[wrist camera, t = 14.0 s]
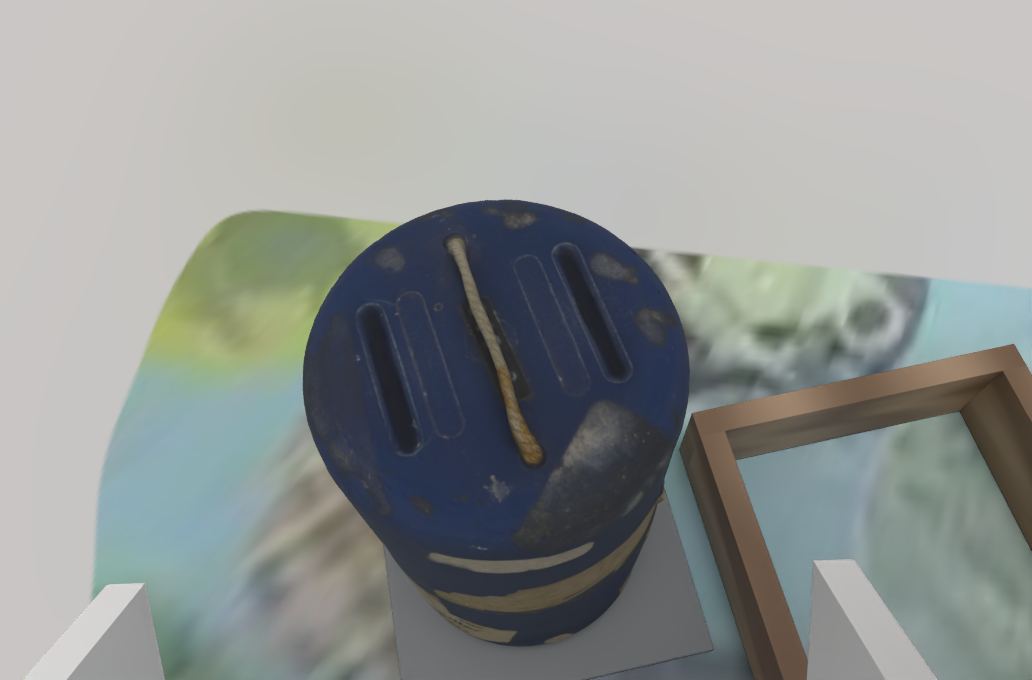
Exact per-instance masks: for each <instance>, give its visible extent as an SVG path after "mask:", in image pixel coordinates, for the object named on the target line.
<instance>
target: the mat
mask: <svg viewBox="0 0 1032 680" xmlns="http://www.w3.org/2000/svg"><path fill="white" fill-rule="evenodd" d="M664 494H665V500H664V501H663V502H660V503H658V504H657V508H656V512H655V515H654V518H653V522H652V524H651V527H650V532H649V534H648V537H647V538H646V540H645V542H644V544H643V546H642V549H641V551H640V553H639V556H638V558H637V560H636V562H635V564H634V566H633V569H632V572H631V575H630V577H629V580H628V582H627V584H626V586H625V588H624V589H623V591H622V592H621V594H620V595H619V596H618V598H617V599H616V600H615V601H614V603H613V604H612V605H611V606H610V607H609V608H608V609H607V610H606V611H605V612H604V613H603V614H602V615H601V616H600V617H599V618H598V619H597V620H596V621H594V622H593V623H591V624H590V625H589V626H587V627H586V628H584V629H582V630H581V631H579V632H577V633H575V634H574V635H572V636H570V637H567V638H565V639H562V640H559V641H556V642H552V643H548V644H542V645H536V646H521V647H517V646H506V645H499V644H495V643H490V642H487V641H484V640H481V639H478V638H476V637H473V636H471V635H469V634H467V633H465V632H463V631H461V630H459V629H458V628H456V627H455V626H453V625H452V624H450V623H449V622H447V621H446V620H445V619H444V618H443V617H442V616H440V615H439V614H438V613H437V612H436V611H435V610H434V609H433V608H432V607H431V606H430V604H429V603H428V602H427V601H426V599H425V598H424V597H423V596H422V594H421V593H420V592H419V591H418V590H417V588H416V587H415V586H414V585H413V584H412V582H411V581H410V580H409V578H408V577H407V576H406V574H405V573H404V572H403V571H402V570H401V568H400V567H399V566H398V564H397V563H396V561H395V560H394V558H393V557H392V555H391V554H390V552H389V551H388V549H387V548H386V546H385V545H384V544H383V545H384V552H385V560H386V568H387V575H388V583H389V591H390V598H391V606H392V614H393V621H394V629H395V637H396V644H397V652H398V660H399V667H400V675H401V680H588V679H593V678H597V677H601V676H606V675H610V674H614V673H618V672H623V671H627V670H631V669H636V668H640V667H644V666H649V665H653V664H657V663H662V662H666V661H670V660H674V659H679V658H683V657H687V656H692V655H696V654H700V653H705V652H709V651H712V650H713V649H714V647H713V644H712V641H711V638H710V634H709V631H708V628H707V625H706V621H705V618H704V615H703V612H702V609H701V605H700V602H699V599H698V596H697V592H696V589H695V586H694V583H693V579H692V576H691V573H690V570H689V566H688V563H687V560H686V557H685V554H684V550H683V547H682V544H681V541H680V537H679V534H678V531H677V528H676V524H675V521H674V518H673V515H672V512H671V508H670V505H669V502H668V499H667V495H666V492H665V489H664Z"/></svg>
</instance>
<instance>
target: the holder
mask: <svg viewBox="0 0 1032 680" xmlns="http://www.w3.org/2000/svg"><path fill="white" fill-rule="evenodd" d="M956 411H960V412H961V414H962V416H963V418H964V420H965V422H966V424H967V426H968V428H969V430H970V432H971V434H972V436H973V437H974V439H975V441H976V443H977V445H978V447H979V449H980V451H981V453H982V455H983V457H984V459H985V461H986V463H987V465H988V466H989V468H990V470H991V472H992V474H993V476H994V478H995V480H996V482H997V484H998V486H999V488H1000V490H1001V492H1002V493H1003V495H1004V497H1005V499H1006V501H1007V503H1008V505H1009V507H1010V509H1011V511H1012V513H1013V515H1014V517H1015V519H1016V521H1017V522H1018V524H1019V526H1020V528H1021V530H1022V532H1023V534H1024V536H1025V538H1026V540H1027V542H1028V544H1029V546H1030V548H1031V550H1032V374H1031V372H1030V371H1029V369H1028V367H1027V365H1026V364H1025V362H1024V360H1023V359H1022V357H1021V355H1020V353H1019V352H1018V350H1017V348H1016V346H1015V345H1014V344H1011V345H1007V346H1002V347H998V348H993V349H988V350H984V351H979V352H974V353H970V354H965V355H960V356H956V357H951V358H946V359H942V360H937V361H932V362H928V363H923V364H918V365H914V366H909V367H905V368H900V369H895V370H891V371H886V372H881V373H877V374H872V375H867V376H863V377H858V378H853V379H849V380H844V381H839V382H835V383H830V384H826V385H821V386H816V387H812V388H807V389H802V390H798V391H793V392H788V393H784V394H779V395H774V396H770V397H765V398H760V399H756V400H751V401H746V402H742V403H737V404H733V405H728V406H723V407H719V408H714V409H709V410H705V411H700V412H695V413H692V415H691V418H690V421H689V424H688V427H687V429H686V432H685V435H684V438H683V441H682V443H681V446H680V449H679V450H680V453H681V456H682V459H683V462H684V465H685V468H686V471H687V474H688V477H689V481H690V484H691V487H692V490H693V493H694V496H695V499H696V502H697V505H698V508H699V511H700V514H701V517H702V520H703V523H704V526H705V530H706V533H707V536H708V539H709V542H710V545H711V548H712V551H713V554H714V557H715V560H716V563H717V566H718V569H719V572H720V575H721V579H722V582H723V585H724V588H725V591H726V594H727V597H728V600H729V603H730V606H731V609H732V612H733V615H734V618H735V621H736V624H737V628H738V631H739V634H740V637H741V640H742V643H743V646H744V649H745V652H746V655H747V658H748V661H749V664H750V667H751V670H752V673H753V677H754V680H807V667H808V661H807V658H806V655H805V652H804V650H803V647H802V644H801V641H800V638H799V636H798V633H797V630H796V627H795V624H794V622H793V619H792V616H791V613H790V611H789V608H788V605H787V602H786V599H785V597H784V594H783V591H782V588H781V586H780V583H779V580H778V577H777V574H776V572H775V569H774V566H773V563H772V561H771V558H770V555H769V552H768V549H767V547H766V544H765V541H764V538H763V536H762V533H761V530H760V527H759V524H758V522H757V519H756V516H755V513H754V511H753V508H752V505H751V502H750V499H749V497H748V494H747V491H746V488H745V486H744V483H743V480H742V477H741V474H740V472H739V469H738V466H737V463H736V460H737V459H742V458H746V457H751V456H756V455H760V454H765V453H769V452H774V451H778V450H783V449H788V448H792V447H797V446H801V445H806V444H810V443H815V442H820V441H824V440H829V439H833V438H838V437H842V436H847V435H851V434H856V433H861V432H865V431H870V430H874V429H879V428H883V427H888V426H893V425H897V424H902V423H906V422H911V421H915V420H920V419H924V418H929V417H934V416H938V415H943V414H947V413H952V412H956Z"/></svg>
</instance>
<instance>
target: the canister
mask: <svg viewBox="0 0 1032 680" xmlns="http://www.w3.org/2000/svg"><path fill="white" fill-rule="evenodd" d="M689 373H690V369H689V356H688V350H687V343H686V339H685V334H684V330H683V327H682V324H681V321H680V318H679V315H678V313H677V311H676V309H675V306H674V304H673V302H672V300H671V298H670V296H669V294H668V292H667V290H666V288H665V287H664V285H663V283H662V282H661V281H660V279H659V278H658V276H657V275H656V274H655V273H654V271H653V270H652V269H651V268H650V266H649V265H648V264H647V263H646V262H645V261H644V260H643V259H642V258H641V256H640V255H638V254H637V253H636V252H635V251H634V250H633V249H632V248H631V247H629V246H628V245H627V244H626V243H625V242H623V241H622V240H620V239H619V238H618V237H616V236H615V235H614V234H612V233H611V232H609V231H608V230H606V229H605V228H603V227H601V226H599V225H598V224H596V223H594V222H592V221H590V220H588V219H586V218H584V217H581V216H579V215H577V214H574V213H571V212H568V211H565V210H562V209H558V208H555V207H552V206H548V205H543V204H538V203H532V202H527V201H521V200H498V201H496V200H495V201H494V200H493V201H492V200H485V201H478V202H469V203H463V204H458V205H454V206H451V207H447V208H443V209H440V210H436V211H433V212H430V213H428V214H426V215H423V216H420V217H418V218H415V219H413V220H411V221H409V222H407V223H405V224H403V225H401V226H399V227H397V228H396V229H394V230H392V231H390V232H389V233H387V234H386V235H385V236H383V237H382V238H381V239H379V240H378V241H376V242H374V243H373V244H372V245H371V246H369V247H368V248H367V249H366V250H365V251H363V252H362V253H361V254H360V255H359V256H358V257H357V258H356V259H355V260H354V261H353V262H352V263H351V264H350V265H349V266H348V267H347V268H346V269H345V271H344V272H343V273H342V274H341V276H340V277H339V279H338V280H337V282H336V283H335V285H334V286H333V287H332V288H331V290H330V291H329V293H328V295H327V297H326V298H325V300H324V302H323V304H322V306H321V307H320V309H319V312H318V314H317V316H316V318H315V320H314V323H313V326H312V329H311V332H310V335H309V339H308V342H307V346H306V351H305V357H304V365H303V396H304V405H305V410H306V416H307V421H308V425H309V427H310V430H311V433H312V436H313V439H314V442H315V444H316V446H317V449H318V451H319V453H320V455H321V457H322V459H323V461H324V463H325V465H326V467H327V469H328V471H329V473H330V475H331V476H332V478H333V480H334V481H335V482H336V484H337V485H338V487H339V488H340V489H341V490H342V492H343V493H344V494H345V496H346V497H347V498H348V500H349V501H350V502H351V503H352V505H353V506H354V507H355V508H356V510H357V511H358V512H359V514H360V515H361V516H362V517H363V519H364V520H365V521H366V523H367V524H368V525H369V526H370V528H371V529H372V530H373V531H374V533H375V534H376V535H377V536H378V538H379V539H380V540H381V541H382V542H383V544H384V545H385V546H386V548H387V549H388V551H389V552H390V554H391V555H392V557H393V558H394V560H395V561H396V563H397V564H398V566H399V567H400V568H401V570H402V571H403V572H404V573H405V574H406V576H407V577H408V578H409V580H410V581H411V582H412V584H413V585H414V586H415V587H416V588H417V590H418V591H419V592H420V593H421V594H422V596H423V597H424V598H425V599H426V601H427V602H428V603H429V604H430V606H431V607H432V608H433V609H434V610H435V611H436V612H437V613H438V614H439V615H440V616H442V617H443V618H444V619H445V620H446V621H447V622H449V623H450V624H452V625H453V626H455V627H456V628H458V629H459V630H461V631H463V632H465V633H467V634H469V635H471V636H473V637H476V638H478V639H481V640H484V641H487V642H490V643H495V644H499V645H506V646H517V647H521V646H536V645H542V644H548V643H552V642H556V641H559V640H562V639H565V638H567V637H570V636H572V635H574V634H575V633H577V632H579V631H581V630H582V629H584V628H586V627H587V626H589V625H590V624H591V623H593V622H594V621H596V620H597V619H598V618H599V617H600V616H601V615H602V614H603V613H604V612H605V611H606V610H607V609H608V608H609V607H610V606H611V605H612V604H613V603H614V601H615V600H616V599H617V598H618V596H619V595H620V594H621V592H622V591H623V589H624V588H625V586H626V584H627V582H628V580H629V577H630V575H631V572H632V569H633V566H634V564H635V562H636V560H637V558H638V556H639V553H640V551H641V549H642V546H643V544H644V542H645V540H646V538H647V537H648V534H649V532H650V527H651V524H652V522H653V518H654V515H655V512H656V508H657V504H658V503H660V502H663V501H664V500H665V494H664V478H665V475H666V472H667V469H668V466H669V463H670V459H671V457H672V454H673V451H674V448H675V446H676V443H677V440H678V438H679V435H680V433H681V430H682V427H683V423H684V418H685V414H686V409H687V403H688V395H689Z"/></svg>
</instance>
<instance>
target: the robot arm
mask: <svg viewBox="0 0 1032 680" xmlns="http://www.w3.org/2000/svg"><path fill="white" fill-rule="evenodd" d="M23 680H165V678H164V673H163V669H162V664H161V659H160V654H159V649H158V644H157V639H156V635H155V630H154V625H153V620H152V615H151V610H150V605H149V601H148V596H147V591H146V586H145V583H138V584H109V585H106V586H105V588H104V589H103V590H102V591H101V592H100V593H99V594H98V595H97V597H96V598H95V599H94V600H93V601H92V602H91V603H90V604H89V606H88V607H87V608H86V609H85V610H84V611H83V612H82V613H81V615H80V616H79V617H78V618H77V619H76V620H75V621H74V622H73V624H72V625H71V626H70V627H69V628H68V629H67V630H66V631H65V633H64V634H63V635H62V636H61V637H60V638H59V639H58V640H57V642H56V643H55V644H54V645H53V646H52V647H51V648H50V649H49V651H48V652H47V653H46V654H45V655H44V656H43V657H42V658H41V660H40V661H39V662H38V663H37V664H36V665H35V666H34V667H33V669H32V670H31V671H30V672H29V673H28V674H27V675H26V676H25V677H24V679H23ZM807 680H937V678H936V677H935V675H934V674H933V672H932V671H931V670H930V668H929V667H928V665H927V664H926V662H925V661H924V659H923V658H922V657H921V655H920V654H919V652H918V651H917V649H916V648H915V647H914V645H913V644H912V642H911V641H910V639H909V638H908V636H907V635H906V634H905V632H904V631H903V629H902V628H901V626H900V625H899V624H898V622H897V621H896V619H895V618H894V616H893V615H892V614H891V612H890V611H889V609H888V608H887V606H886V605H885V603H884V602H883V601H882V599H881V598H880V596H879V595H878V593H877V592H876V591H875V589H874V588H873V586H872V585H871V583H870V582H869V580H868V579H867V578H866V576H865V575H864V573H863V572H862V570H861V569H860V568H859V566H858V565H857V563H856V562H855V560H854V559H841V560H813V575H812V594H811V612H810V630H809V649H808V667H807Z"/></svg>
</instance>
